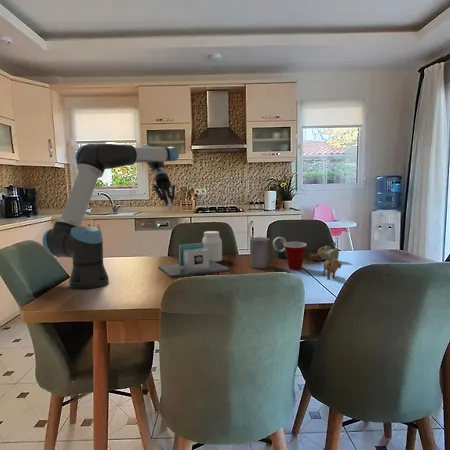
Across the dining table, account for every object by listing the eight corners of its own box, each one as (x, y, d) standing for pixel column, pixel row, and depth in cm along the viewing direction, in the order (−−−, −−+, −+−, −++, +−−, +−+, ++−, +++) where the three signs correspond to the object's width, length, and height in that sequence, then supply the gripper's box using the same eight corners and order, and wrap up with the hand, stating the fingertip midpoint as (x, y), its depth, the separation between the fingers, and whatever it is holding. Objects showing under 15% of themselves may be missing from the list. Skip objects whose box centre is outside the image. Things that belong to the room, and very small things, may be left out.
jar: (223, 261, 193) (222, 232, 191) (205, 262, 190) (204, 233, 189) (218, 257, 204) (217, 230, 202) (201, 258, 202) (200, 231, 200)
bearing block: (171, 277, 159) (170, 254, 158) (158, 267, 179) (157, 247, 178) (229, 270, 171) (229, 249, 170) (211, 262, 191) (210, 243, 190)
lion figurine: (343, 281, 149) (343, 259, 148) (330, 281, 148) (330, 259, 147) (328, 272, 163) (328, 253, 162) (316, 273, 162) (316, 253, 162)
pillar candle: (258, 263, 185) (258, 234, 184) (274, 266, 178) (274, 235, 177) (245, 266, 179) (245, 236, 177) (261, 269, 172) (261, 238, 170)
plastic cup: (281, 270, 170) (281, 244, 168) (285, 265, 180) (285, 241, 178) (305, 271, 166) (305, 245, 165) (308, 266, 176) (308, 242, 175)
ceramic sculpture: (332, 246, 181) (307, 245, 192) (332, 263, 181) (308, 261, 193) (344, 244, 187) (319, 243, 199) (344, 261, 188) (320, 258, 199)
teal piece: (187, 270, 163) (187, 248, 162) (179, 265, 174) (178, 244, 173) (212, 267, 168) (212, 246, 167) (203, 263, 179) (202, 242, 178)
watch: (288, 257, 201) (289, 237, 199) (275, 258, 198) (275, 238, 197) (284, 255, 206) (284, 236, 205) (271, 256, 204) (271, 236, 203)
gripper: (171, 182, 211) (181, 212, 198) (149, 182, 206) (157, 213, 192) (173, 172, 206) (184, 203, 192) (150, 172, 200) (159, 204, 187)
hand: (170, 208), depth 192 cm, fingers closed
